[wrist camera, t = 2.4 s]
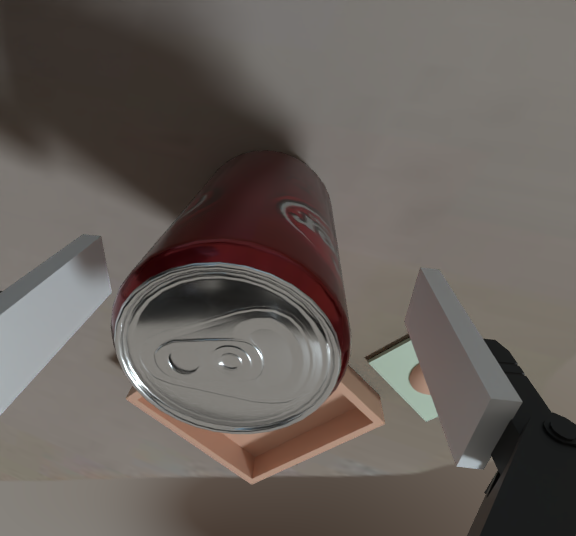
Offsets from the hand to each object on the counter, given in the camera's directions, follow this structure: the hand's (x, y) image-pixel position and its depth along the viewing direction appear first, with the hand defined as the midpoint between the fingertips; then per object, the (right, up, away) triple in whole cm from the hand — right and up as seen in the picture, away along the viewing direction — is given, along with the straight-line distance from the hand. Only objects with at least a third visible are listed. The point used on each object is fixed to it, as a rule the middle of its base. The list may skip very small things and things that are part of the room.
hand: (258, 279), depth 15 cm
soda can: (0, +4, +6) cm, 7 cm away
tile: (+12, -7, +11) cm, 18 cm away
